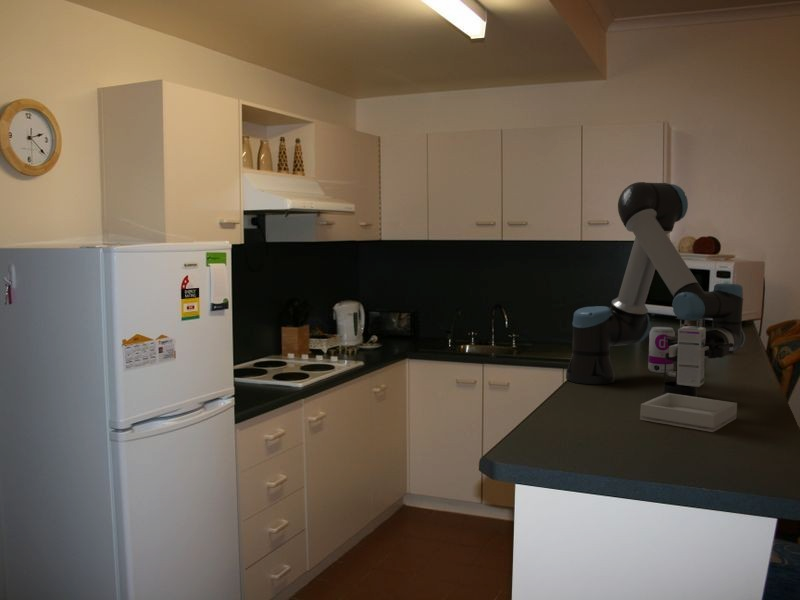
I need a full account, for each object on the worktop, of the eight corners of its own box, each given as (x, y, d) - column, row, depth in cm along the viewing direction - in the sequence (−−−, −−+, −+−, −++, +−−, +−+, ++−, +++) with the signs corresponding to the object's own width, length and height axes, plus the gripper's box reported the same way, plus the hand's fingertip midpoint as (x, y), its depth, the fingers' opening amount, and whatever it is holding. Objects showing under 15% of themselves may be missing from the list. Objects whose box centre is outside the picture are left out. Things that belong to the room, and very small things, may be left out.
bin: (640, 419, 191) (640, 404, 191) (666, 407, 205) (667, 392, 204) (713, 432, 179) (713, 415, 179) (736, 418, 193) (737, 403, 193)
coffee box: (703, 352, 299) (705, 312, 298) (703, 355, 293) (705, 314, 292) (679, 351, 302) (680, 311, 301) (678, 353, 297) (680, 313, 295)
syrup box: (700, 387, 187) (702, 329, 186) (675, 384, 190) (677, 327, 189) (704, 383, 192) (707, 327, 191) (680, 380, 195) (682, 325, 194)
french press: (695, 400, 213) (698, 320, 211) (660, 397, 217) (663, 318, 215) (698, 393, 223) (702, 316, 221) (665, 389, 227) (668, 314, 225)
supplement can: (675, 374, 253) (676, 329, 252) (649, 372, 255) (651, 329, 254) (671, 369, 261) (673, 326, 260) (646, 368, 263) (648, 326, 262)
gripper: (751, 360, 198) (723, 373, 181) (679, 353, 210) (646, 363, 193) (753, 332, 197) (725, 342, 180) (680, 326, 210) (647, 334, 192)
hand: (684, 353), depth 186 cm, fingers closed on syrup box, 6 cm apart
